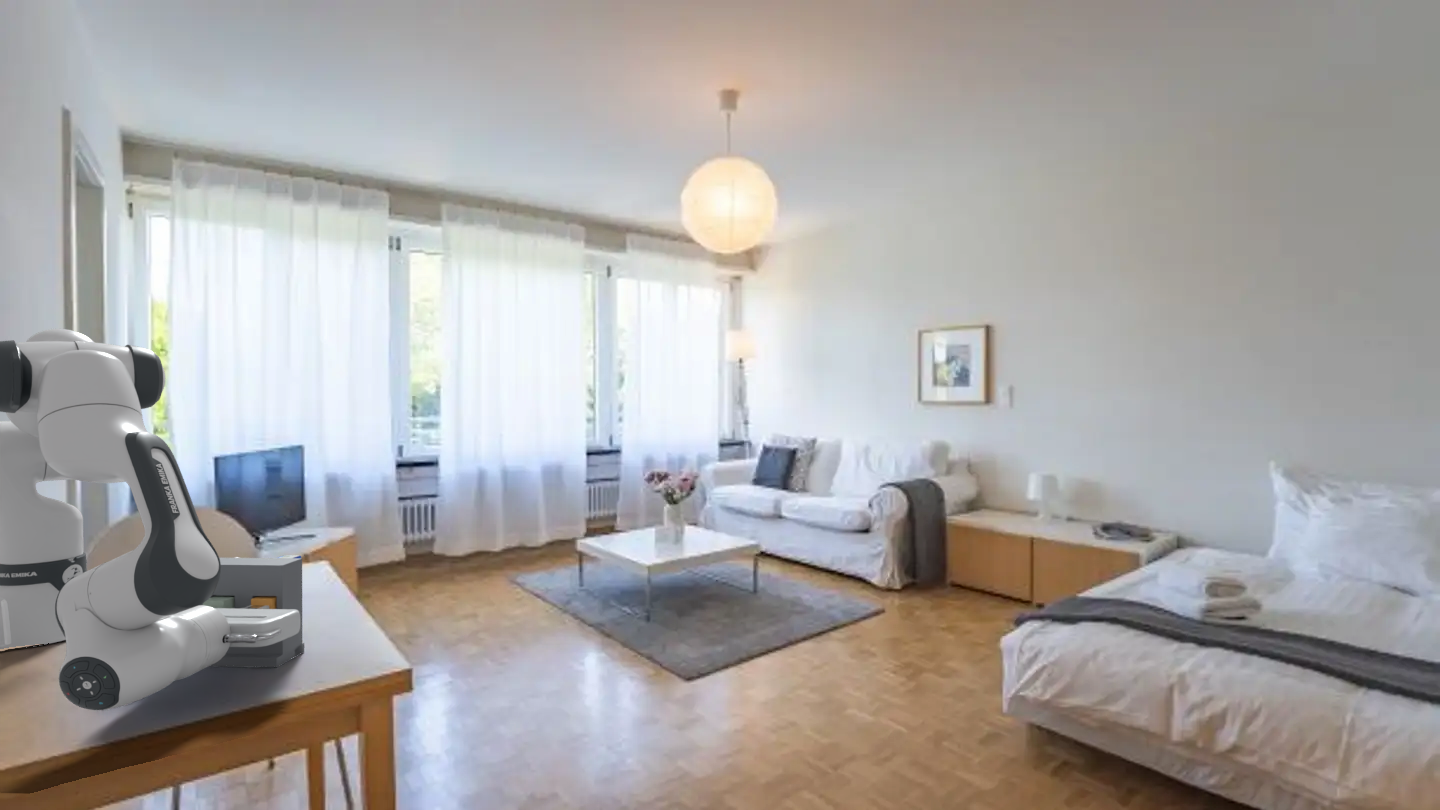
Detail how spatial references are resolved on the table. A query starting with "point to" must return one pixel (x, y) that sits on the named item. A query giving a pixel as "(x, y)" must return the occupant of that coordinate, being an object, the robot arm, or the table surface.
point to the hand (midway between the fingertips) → (260, 610)
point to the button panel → (262, 580)
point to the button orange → (265, 601)
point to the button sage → (221, 602)
